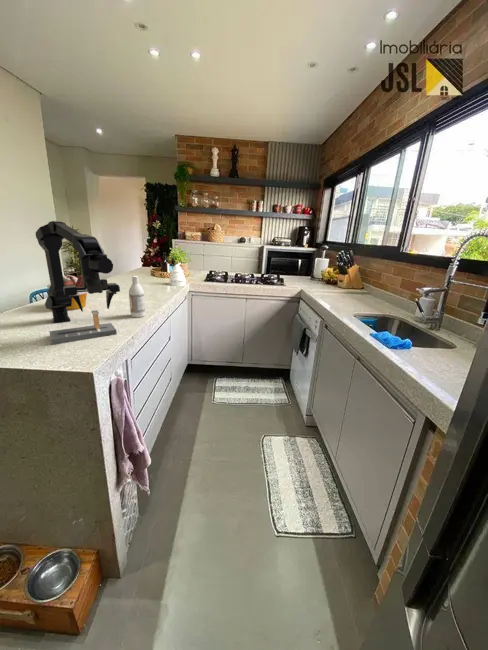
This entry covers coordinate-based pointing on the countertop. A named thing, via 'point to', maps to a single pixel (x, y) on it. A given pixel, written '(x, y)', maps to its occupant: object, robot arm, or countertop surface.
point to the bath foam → (136, 298)
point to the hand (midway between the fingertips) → (95, 310)
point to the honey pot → (177, 276)
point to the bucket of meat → (82, 295)
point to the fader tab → (96, 319)
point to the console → (81, 333)
